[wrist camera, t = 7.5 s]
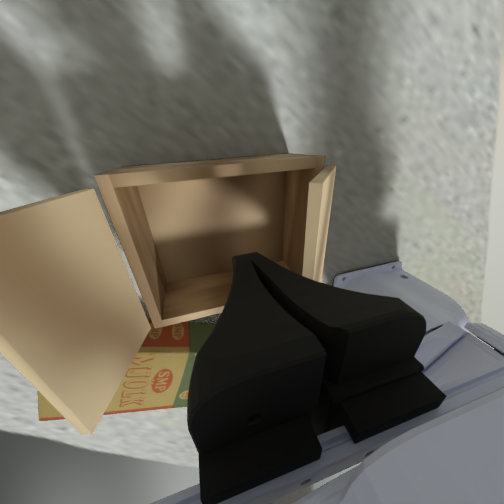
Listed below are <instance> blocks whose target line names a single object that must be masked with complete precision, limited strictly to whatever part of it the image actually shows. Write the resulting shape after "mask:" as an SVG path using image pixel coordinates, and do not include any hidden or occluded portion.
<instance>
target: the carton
mask: <svg viewBox="0 0 504 504" xmlns="http://www.w3.org/2000/svg"><path fill="white" fill-rule="evenodd" d="M148 322H149V324H150V327H151V329H150V331H149V332H148V334H147V336H146V338H145V340H144V341H143V343H142V345H141V347H140V349H139V351H138V352H137V354H136V356H135V358H134V360H133V361H132V363H131V365H130V367H129V369H128V371H127V372H126V374H125V376H124V378H123V380H122V381H121V383H120V385H119V387H118V389H117V390H116V392H115V394H114V396H113V398H112V400H111V401H110V403H109V405H108V407H107V409H106V410H105V412H104V414H103V415H108V414H117V413H126V412H137V411H146V410H156V409H167V408H177V407H187V400H188V391H189V384H190V378H191V374H192V370H193V366H194V362H195V358H196V354H197V353H198V351H199V350H200V348H201V347H202V345H203V344H204V343H205V341H206V340H207V338H208V337H209V335H210V334H211V332H212V330H213V328H214V327H215V325H216V324H210V323H195V322H181V323H177V324H173V325H168V326H164V327H160V328H156V329H155V328H154V325H153V323H152V320H151V319H148ZM38 411H39V421H48V420H59V419H65V418H64V416H63V415H62V414H61V413H60V412H59V411H58V410H57V409H56V408H55V407H54V406H53V405H52V404H51V403H50V402H49V401H48V400H47V399H46V398H45V397H44V396H43V395H42V394H41V393H40V392H39V391H38Z"/></svg>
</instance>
